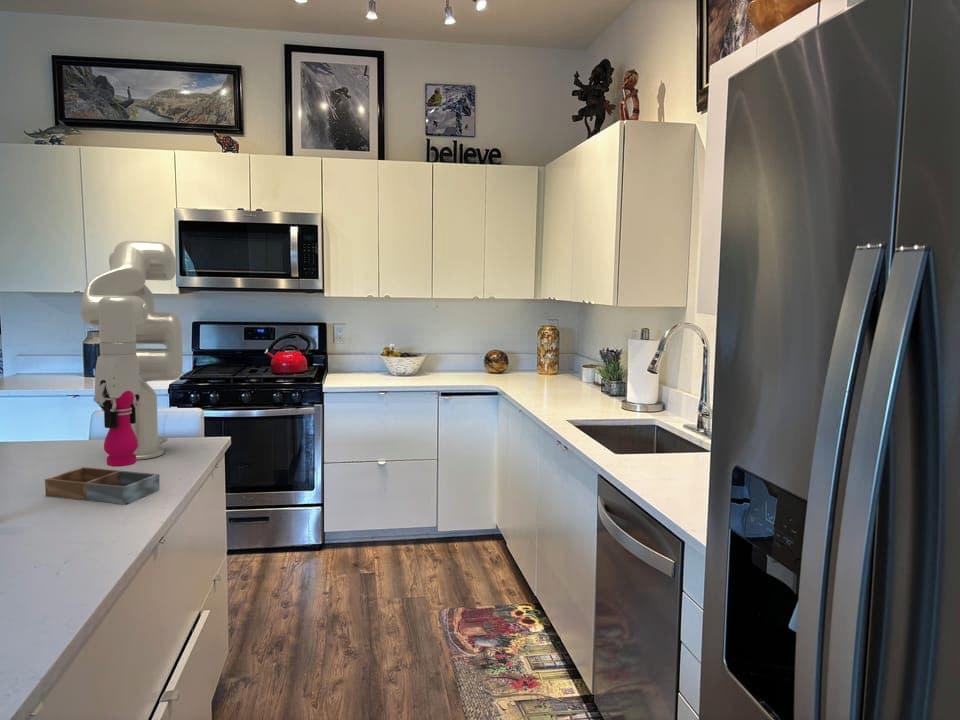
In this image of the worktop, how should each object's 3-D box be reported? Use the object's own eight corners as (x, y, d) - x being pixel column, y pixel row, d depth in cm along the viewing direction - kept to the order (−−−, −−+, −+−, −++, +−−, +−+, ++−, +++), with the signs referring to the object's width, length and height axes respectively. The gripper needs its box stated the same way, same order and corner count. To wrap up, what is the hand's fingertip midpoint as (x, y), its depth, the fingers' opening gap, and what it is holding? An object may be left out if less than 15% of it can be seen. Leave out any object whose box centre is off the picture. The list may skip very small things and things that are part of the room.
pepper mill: (123, 468, 155) (121, 383, 153) (97, 466, 157) (94, 382, 154) (145, 460, 162) (143, 379, 160) (119, 458, 164) (117, 378, 161)
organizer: (83, 482, 169) (82, 467, 169) (159, 490, 165) (159, 474, 164) (45, 495, 158) (44, 479, 158) (126, 504, 154) (125, 487, 153)
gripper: (130, 346, 166) (132, 418, 167) (75, 352, 149) (78, 431, 151) (156, 347, 164) (158, 420, 166) (104, 353, 147) (107, 434, 149)
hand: (120, 424), depth 158 cm, fingers closed on pepper mill, 5 cm apart
